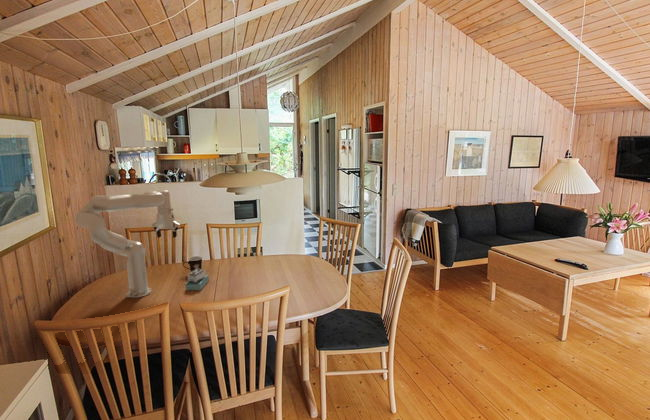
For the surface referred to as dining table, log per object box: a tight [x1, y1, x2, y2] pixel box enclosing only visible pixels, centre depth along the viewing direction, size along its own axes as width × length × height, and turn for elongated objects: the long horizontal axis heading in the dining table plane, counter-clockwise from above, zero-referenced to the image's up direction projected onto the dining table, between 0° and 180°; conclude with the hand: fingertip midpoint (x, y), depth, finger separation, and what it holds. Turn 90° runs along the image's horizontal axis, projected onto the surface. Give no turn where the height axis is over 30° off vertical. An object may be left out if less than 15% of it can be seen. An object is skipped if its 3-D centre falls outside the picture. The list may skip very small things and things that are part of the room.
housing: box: [187, 268, 206, 283], centre depth 220 cm, size 6×9×6 cm, turn 163°
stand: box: [184, 274, 210, 291], centre depth 221 cm, size 14×9×4 cm, turn 178°
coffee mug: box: [182, 255, 203, 273], centre depth 240 cm, size 12×9×10 cm
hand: (167, 237), depth 223 cm, fingers open, 9 cm apart
